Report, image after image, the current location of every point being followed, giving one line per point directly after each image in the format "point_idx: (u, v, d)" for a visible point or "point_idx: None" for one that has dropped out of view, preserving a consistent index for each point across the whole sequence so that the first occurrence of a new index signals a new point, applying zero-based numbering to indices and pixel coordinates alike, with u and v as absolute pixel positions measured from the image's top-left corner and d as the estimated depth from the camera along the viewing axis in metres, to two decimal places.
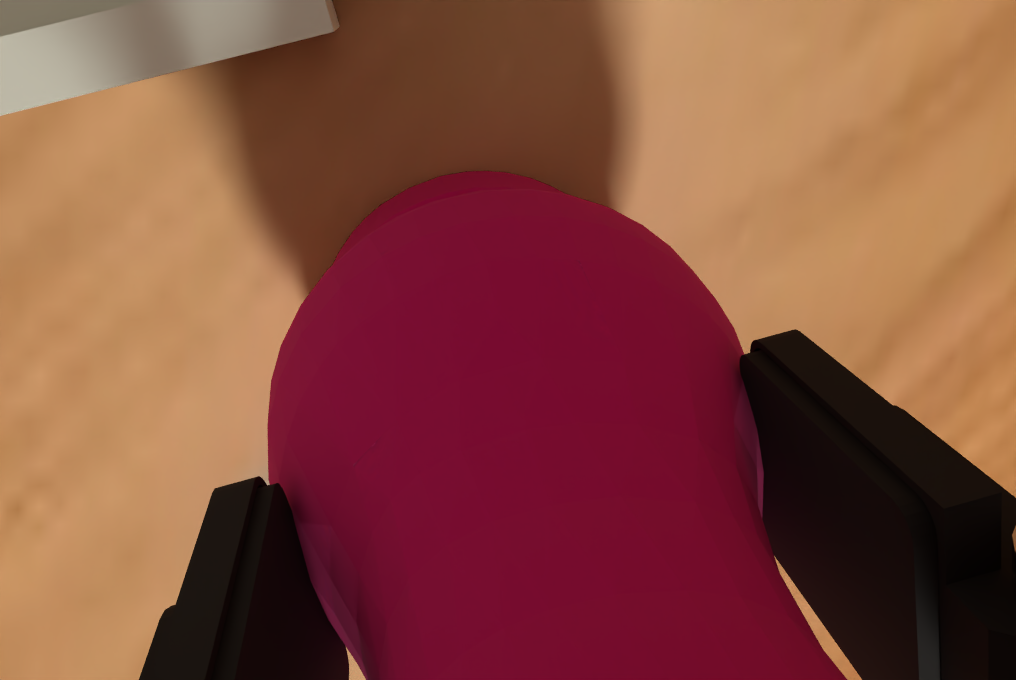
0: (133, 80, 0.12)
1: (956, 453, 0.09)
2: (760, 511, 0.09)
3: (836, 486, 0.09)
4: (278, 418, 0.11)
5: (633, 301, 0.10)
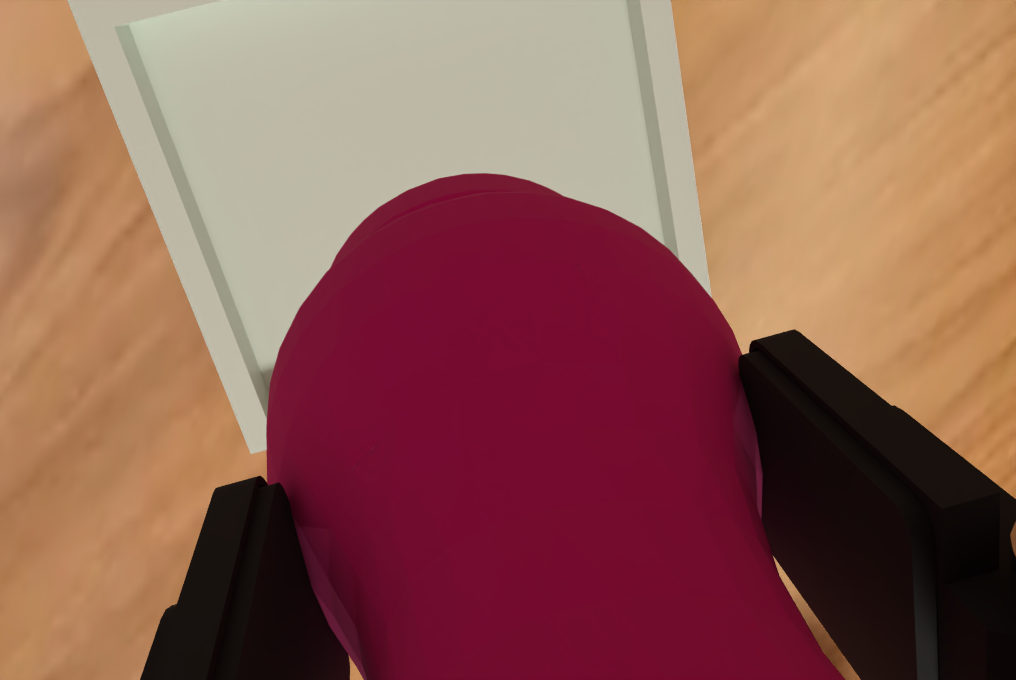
0: None
1: (956, 453, 0.09)
2: (759, 514, 0.09)
3: (835, 486, 0.09)
4: (277, 421, 0.11)
5: (631, 304, 0.10)
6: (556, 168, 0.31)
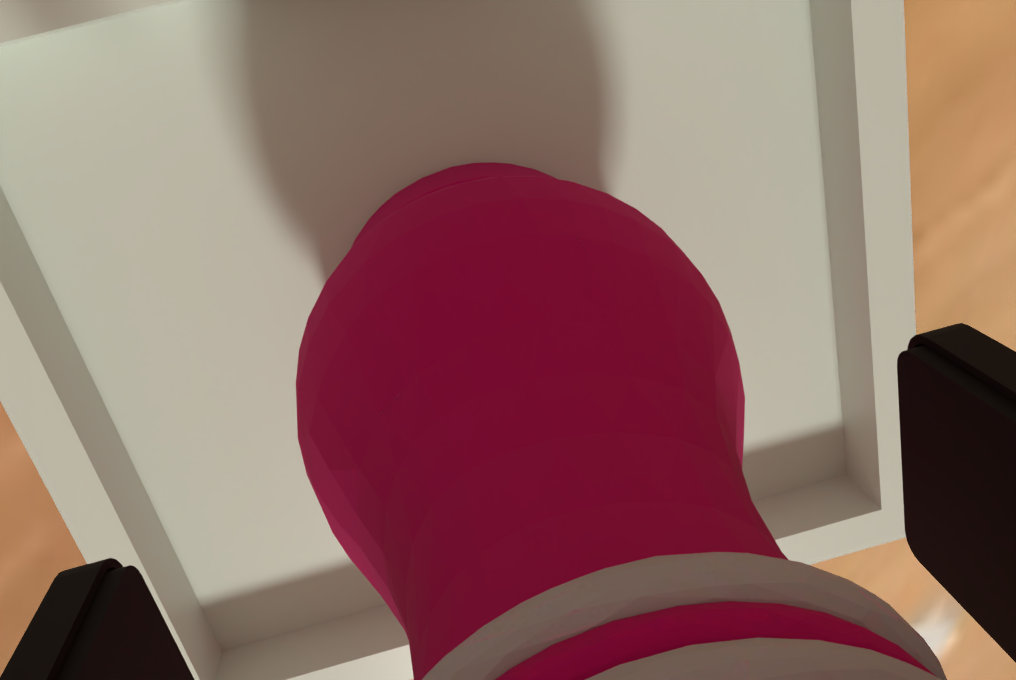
0: None
1: None
2: (738, 456, 0.11)
3: None
4: (308, 380, 0.12)
5: (626, 272, 0.11)
6: None
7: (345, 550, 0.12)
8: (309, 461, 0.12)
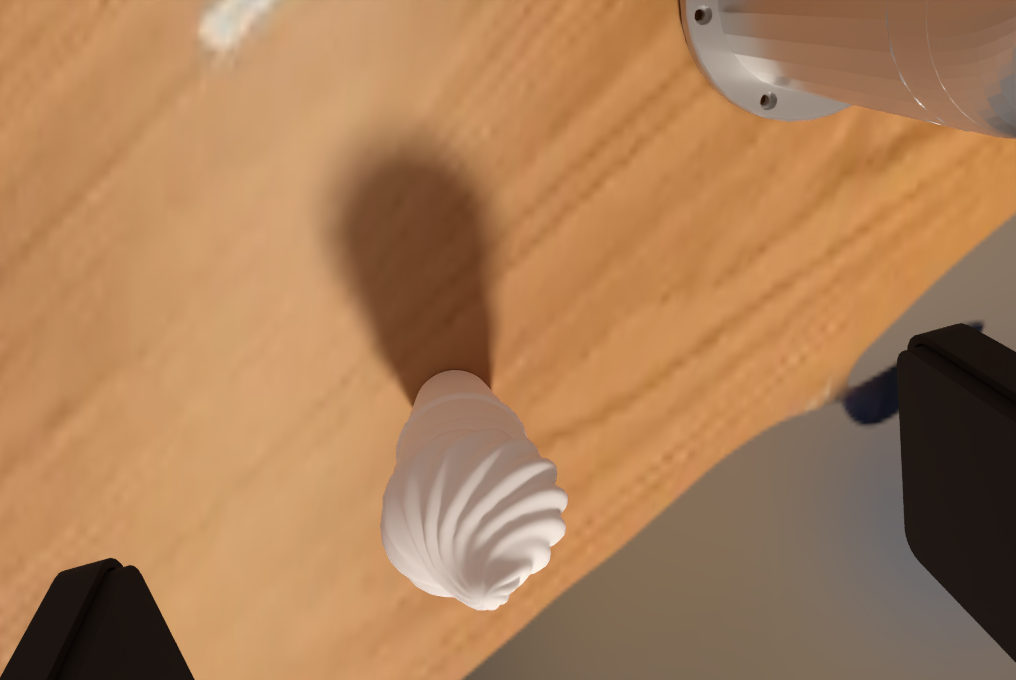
0: None
1: None
2: None
3: None
4: None
5: None
6: None
7: None
8: None
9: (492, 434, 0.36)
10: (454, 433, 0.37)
